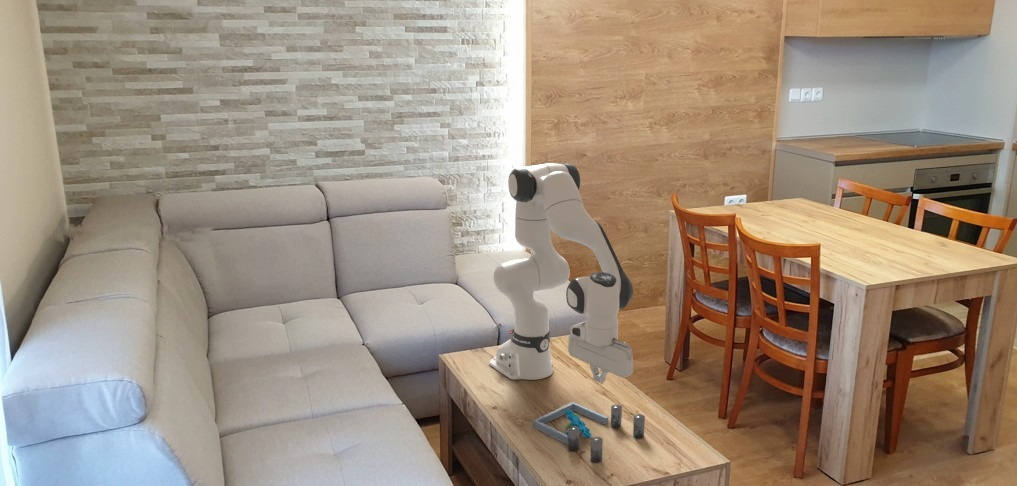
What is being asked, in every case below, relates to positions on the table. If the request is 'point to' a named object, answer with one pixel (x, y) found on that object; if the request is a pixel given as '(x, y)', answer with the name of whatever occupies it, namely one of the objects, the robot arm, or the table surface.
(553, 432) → the u-shaped bent rod
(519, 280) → the robot arm
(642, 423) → the spacer posts
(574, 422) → the gear
